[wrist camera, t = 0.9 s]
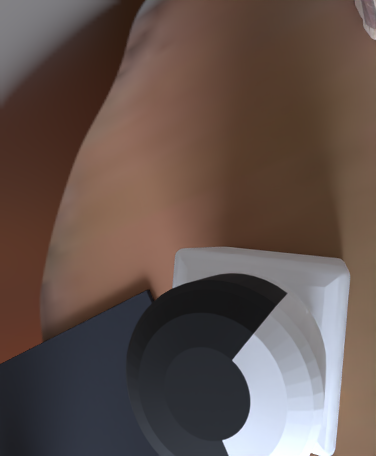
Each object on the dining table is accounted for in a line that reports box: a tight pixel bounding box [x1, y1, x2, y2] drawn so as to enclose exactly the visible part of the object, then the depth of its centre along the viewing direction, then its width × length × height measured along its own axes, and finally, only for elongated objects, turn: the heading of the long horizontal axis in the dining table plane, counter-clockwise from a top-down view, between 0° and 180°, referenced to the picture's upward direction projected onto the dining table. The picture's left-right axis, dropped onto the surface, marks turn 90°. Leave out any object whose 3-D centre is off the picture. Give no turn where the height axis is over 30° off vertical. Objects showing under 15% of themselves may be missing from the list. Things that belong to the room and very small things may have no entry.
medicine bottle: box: [126, 247, 350, 456], centre depth 15 cm, size 7×7×12 cm
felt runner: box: [0, 290, 160, 456], centre depth 26 cm, size 11×20×1 cm, turn 116°
